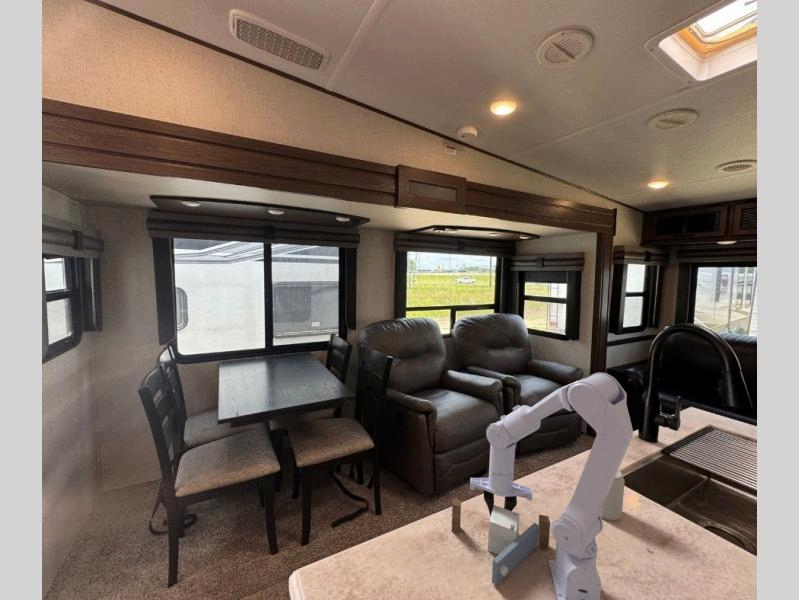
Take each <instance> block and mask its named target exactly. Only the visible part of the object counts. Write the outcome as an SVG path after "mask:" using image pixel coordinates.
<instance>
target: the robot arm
mask: <svg viewBox="0 0 799 600" xmlns="http://www.w3.org/2000/svg"><path fill="white" fill-rule="evenodd" d="M624 389H625V388H623V387H622V386H621V384H620V383H619V381H618V380H617V379H616V378H615V377H614V376H612V375H610V374H608V373H606V372H595V373H593V374H591V375H589V376H588V377H584V378H582V379H579V380H576V381H574V382H572V383H569V384H567V385H564V386H562V387H560V388H558V389H557V388H556V389H555V390H553V392H552V393H550V394H548V395H547V396H545V397H544V398H543V399H541V400H540V401H539V402H537V403H536V404H534V405H532V406H529V405H525V404H524V405H523V404H522V405H521V406H520V404H518V405H515V406H514V407H513V408H512V412H510V413H509V414H507V415H506V414H504V415H501V416H500V418H499V419H500V420H498V421H496V422H494V423H490V424H489V426H487V428H486V431H485V432H486V433H485V434H486V439H487V441H488V443H489V444H490V446H489V447H490V448H489V449H490V450H489V463H488V464H489V467H488V477H470V480H469V481H470V483H469V485H470V486H469V490H471V491H475V490H481V491H483V499H484V500H483V501H484V502H485V504H486V506H487V509H488V512H489V517H491V513H492V510H493V507H494V505H495V495H496V496H498V497H503V498H504V501H503V502H504V506H503V508H504V509H507V510H510V511H513V510H514V509H515V508H517V504H518V497H519V498H525V499H526V500H528V501H533V491H532V488H531V487H527V486H523V485H521V484H518V483H516V482H514V475H515V473H514V471H515V470H514V469H515V457H516V456H515V455H516V447H517V443H518V442H520V441H521V439H523V438H525V437H527V436H529V435H530V434H533V433H534V432H536V431H538V430H539V429H540V428H541V424H542V423H541V420H543V419H546V418H547V417H548V416H550V415H552V414H554V413H557V412H558V411H560V410H562V409H565V410H567V411H569V412H573V411H575V412H576V413H577V414H578V415H580V417H581V418H582V419H583V420H584V421H585V422H586V423H587V424H588V425H589V426H590V427H591V428H592V429H593V430H594V431H595V433H596V436H595V439H594V441H593V444H592V446H591V449H590V451H589V454H588V455H587V456H588V457H587V459H586V461H585V464H584V466H583V469H582V472H581V474H580V476H579V480H578V482H577V485H576V487H575V490H574V493H573V495H572V497H571V500H570V501H569V503H568V504H567V505H566V507H565V509H564V510H563V512H562V513H561V516H560V517H558V518H557V519H555V520H554V521H552V523H551V533H552V537H553V539H554V541H555V542H556V543H555V554H554V555H555V556H554V557H555V558H554V560H552V559H549V560H548V564H549V569H550V574H551V577H552V581H553V586H554V589H555V592H556V594H555V595H556V597H557V600H601V594H602V593H601V591H602V581H601V578H600V575H599V572H598V567H597V556H598V555H597V554H598V544H597V540H596V537H597V536H598V535H599V534H600V533H601V532H602V531H603V527H604V524H603V518H602V513H603V511H604V509H603V508H602V506H603V504H604V502H605V499H606V497H607V495H608V492H609V490H610V488H611V485H612V483H613V481H614V478H615V476H616V474H617V471H618V470H619V469H620V467H621V464H622V462H623V460H624V457H625V456H626V453H627V450H628V448H629V446H630V443H631V441H632V439H633V435H634V430H633V426H632V421H631V416H630V413H629V408H628V405H627V397H628V395H627V394H628V393H627V392H626V391H625V390H624Z"/></svg>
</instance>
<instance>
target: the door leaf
mask: <svg viewBox="0 0 799 600" xmlns="http://www.w3.org/2000/svg"><path fill="white" fill-rule="evenodd" d="M538 525H539V524H537V523H536V522H533V523H532V524H531V525H530V526H529V527H528V528H526V529H525V530H524V531H523V532H522V533H520V535H518V538H517V539H516V540H514V541H513V542H512V543H511V544H510V545H509V546H508V547H507V548H505V549H504V550H503V551H502V552H501V553H500V554H499V555H498V554H497V556H495V557H494V558H493V559H492V568H491V569H492V571H491V573H492V574H491V583H492V584H494V586H495V587H497V585H499V584H500V582H502V581H503V579H505V578H506V576H508V575H509V574H510V573H511V572H512V571H513V570H514V569H515V568H516V567H517V566H518V565H519V564H520V563H521V562H522V561H523V560H524V559H525V558H526V557H527V556H528V555H529V554H530V553H531V552H532V551H533V550H534V549H536V547H537V546H538Z"/></svg>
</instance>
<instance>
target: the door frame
mask: <svg viewBox="0 0 799 600" xmlns="http://www.w3.org/2000/svg"><path fill="white" fill-rule="evenodd" d="M451 508H452V510H451V512H452V513H451V532H453V533H457V534H460V533H461V532H460V531H461V521H462V520H461V517H462V516H461V515H462V512H461V511H462V500H460V499H454V498H453V499H452V506H451ZM550 521H551V520H550V517H549V516H548V515H544V514H539V515H538V524H537V525H538V541H537V546H538V549H539V550H542V551H545V552H549V545H550V532H551V530H550V529H551V522H550Z"/></svg>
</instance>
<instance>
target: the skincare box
mask: <svg viewBox="0 0 799 600" xmlns="http://www.w3.org/2000/svg"><path fill="white" fill-rule="evenodd" d="M489 517H490V516H489ZM488 524H489V525H488V540H487V550H488V552H490V553H493V554H497V556H498V555H499V554H500V553H501V552H502V551H503V550H504V549H505V548H507V547H508V546H509V545H510V544H511V543H512V542H513V541H514V540H516V539H517V538H518V537H519V532H520V531H519V527H520V513H519V512H516V511H513V510H512V511H510V510H507V509H504V507H500V506H498V505H495V504H494V507H493V510H492V513H491V517H490V518H489V523H488Z"/></svg>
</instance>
